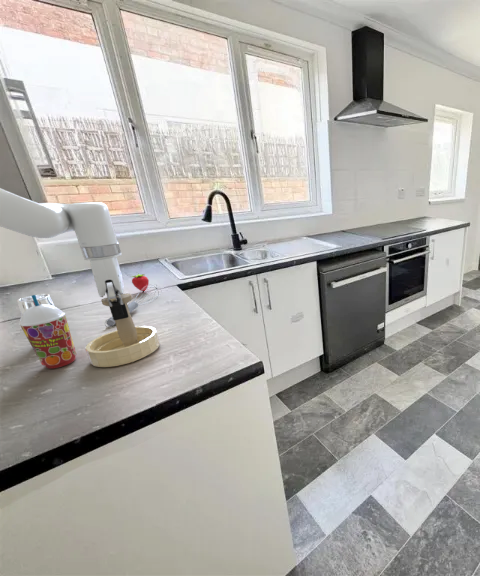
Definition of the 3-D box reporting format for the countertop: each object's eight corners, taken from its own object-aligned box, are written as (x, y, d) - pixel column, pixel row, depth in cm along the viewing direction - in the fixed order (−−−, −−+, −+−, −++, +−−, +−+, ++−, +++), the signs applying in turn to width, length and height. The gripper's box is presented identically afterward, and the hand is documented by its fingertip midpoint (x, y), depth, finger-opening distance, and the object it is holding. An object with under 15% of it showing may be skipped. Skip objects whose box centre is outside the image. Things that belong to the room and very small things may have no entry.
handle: (114, 347, 88) (98, 299, 83) (141, 339, 93) (127, 292, 88) (120, 352, 86) (104, 302, 81) (147, 343, 90) (133, 295, 86)
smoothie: (34, 375, 79) (1, 303, 73) (45, 361, 86) (15, 294, 80) (78, 365, 84) (51, 296, 77) (84, 352, 90) (60, 287, 84)
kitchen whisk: (96, 330, 104) (91, 312, 102) (151, 296, 136) (147, 282, 134) (117, 328, 105) (111, 311, 103) (166, 295, 137) (162, 281, 135)
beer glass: (39, 350, 92) (19, 303, 87) (32, 344, 95) (13, 299, 90) (70, 340, 97) (53, 296, 93) (63, 335, 101) (46, 292, 96)
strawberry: (137, 295, 136) (131, 274, 132) (133, 292, 140) (127, 271, 137) (153, 292, 140) (147, 271, 137) (149, 288, 145) (143, 268, 141)
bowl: (88, 376, 79) (82, 359, 77) (94, 351, 91) (88, 336, 89) (161, 355, 88) (157, 340, 86) (158, 335, 100) (154, 321, 98)
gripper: (86, 248, 85) (106, 309, 90) (77, 259, 72) (101, 329, 78) (121, 245, 89) (138, 303, 95) (119, 255, 76) (138, 321, 82)
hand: (121, 314), depth 86 cm, fingers closed on handle, 5 cm apart
